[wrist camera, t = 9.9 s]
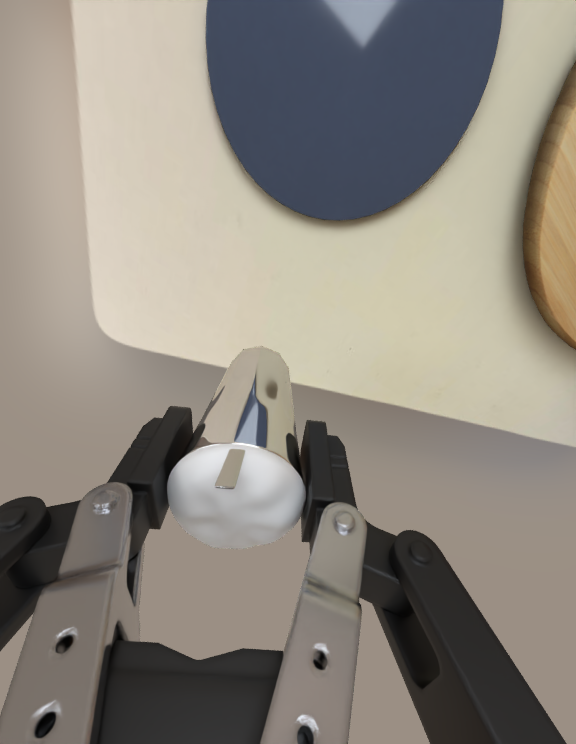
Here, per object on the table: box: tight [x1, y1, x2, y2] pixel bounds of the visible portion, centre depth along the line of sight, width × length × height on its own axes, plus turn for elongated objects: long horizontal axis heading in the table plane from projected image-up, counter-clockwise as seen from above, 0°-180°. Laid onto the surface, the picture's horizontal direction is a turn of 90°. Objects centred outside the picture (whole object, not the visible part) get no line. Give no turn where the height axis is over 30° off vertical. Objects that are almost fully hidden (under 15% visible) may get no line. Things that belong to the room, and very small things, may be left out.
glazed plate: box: [206, 0, 503, 221], centre depth 17 cm, size 16×16×1 cm
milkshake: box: [167, 346, 306, 549], centre depth 12 cm, size 4×5×10 cm
